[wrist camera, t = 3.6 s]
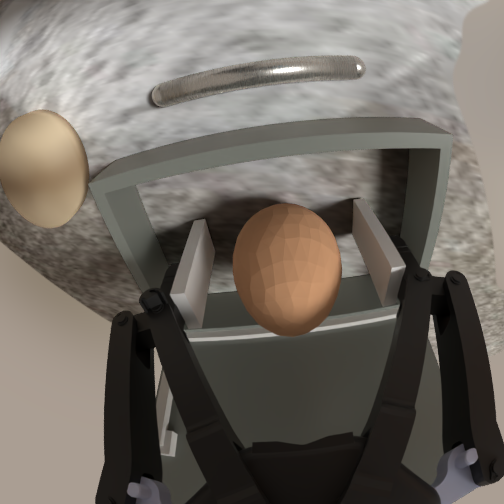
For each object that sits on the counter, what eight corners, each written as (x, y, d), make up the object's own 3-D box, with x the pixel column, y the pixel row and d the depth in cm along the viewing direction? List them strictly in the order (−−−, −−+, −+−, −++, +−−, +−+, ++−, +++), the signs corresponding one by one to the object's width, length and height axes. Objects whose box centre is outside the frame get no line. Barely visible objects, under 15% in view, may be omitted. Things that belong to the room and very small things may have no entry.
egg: (251, 171, 16) (247, 265, 9) (339, 198, 17) (385, 296, 10) (227, 246, 19) (214, 352, 13) (304, 265, 20) (321, 367, 13)
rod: (154, 85, 13) (145, 88, 11) (359, 56, 11) (368, 55, 10) (160, 107, 13) (151, 111, 12) (361, 79, 12) (370, 80, 11)
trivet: (-5, 138, 13) (-14, 144, 12) (65, 88, 12) (54, 91, 11) (34, 228, 18) (26, 236, 17) (107, 206, 17) (100, 215, 16)
